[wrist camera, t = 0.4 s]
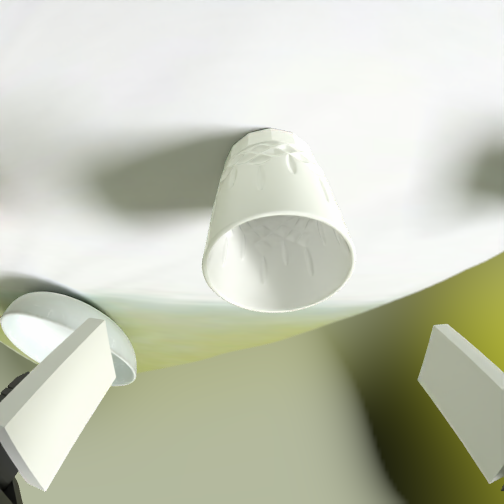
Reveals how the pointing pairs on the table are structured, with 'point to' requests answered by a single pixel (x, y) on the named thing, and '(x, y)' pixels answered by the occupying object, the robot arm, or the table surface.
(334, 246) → the white cup
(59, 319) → the serving bowl
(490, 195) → the table surface
